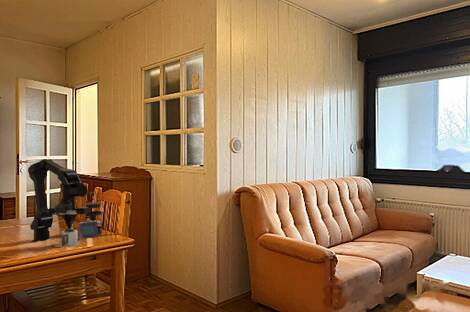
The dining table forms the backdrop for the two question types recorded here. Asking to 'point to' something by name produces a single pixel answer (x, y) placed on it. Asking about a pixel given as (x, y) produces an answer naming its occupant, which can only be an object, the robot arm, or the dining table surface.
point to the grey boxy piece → (69, 237)
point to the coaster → (68, 246)
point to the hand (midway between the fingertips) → (69, 228)
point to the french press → (95, 213)
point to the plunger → (69, 229)
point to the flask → (88, 229)
